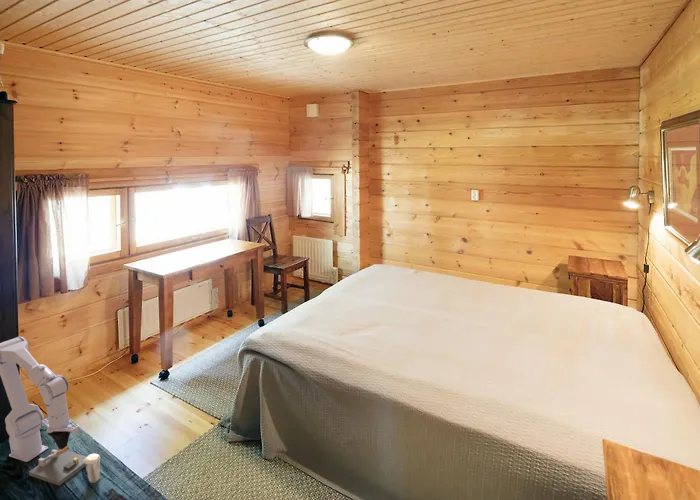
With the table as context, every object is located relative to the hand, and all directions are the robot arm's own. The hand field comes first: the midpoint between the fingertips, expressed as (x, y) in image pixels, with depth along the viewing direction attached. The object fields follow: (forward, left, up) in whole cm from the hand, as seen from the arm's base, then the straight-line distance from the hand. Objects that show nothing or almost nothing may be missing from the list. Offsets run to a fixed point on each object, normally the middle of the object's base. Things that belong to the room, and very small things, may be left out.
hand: (63, 447), depth 143 cm
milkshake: (+13, 0, -9) cm, 16 cm away
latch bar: (-4, 0, -4) cm, 6 cm away
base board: (-3, 0, -9) cm, 9 cm away
